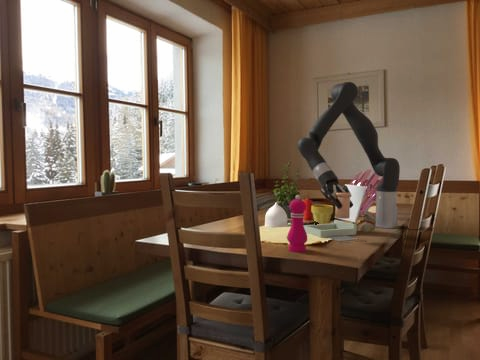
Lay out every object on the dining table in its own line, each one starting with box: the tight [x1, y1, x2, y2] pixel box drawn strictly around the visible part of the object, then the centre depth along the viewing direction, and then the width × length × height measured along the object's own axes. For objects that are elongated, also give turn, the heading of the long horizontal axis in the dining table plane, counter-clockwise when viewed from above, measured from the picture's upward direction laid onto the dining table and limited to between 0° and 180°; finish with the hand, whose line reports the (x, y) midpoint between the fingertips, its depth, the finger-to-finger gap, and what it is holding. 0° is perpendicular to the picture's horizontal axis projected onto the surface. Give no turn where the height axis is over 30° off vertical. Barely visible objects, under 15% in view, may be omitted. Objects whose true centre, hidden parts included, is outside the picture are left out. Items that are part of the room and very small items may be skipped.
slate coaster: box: [326, 235, 359, 244], centre depth 171 cm, size 9×9×1 cm
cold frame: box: [303, 183, 367, 238], centre depth 183 cm, size 23×14×21 cm, turn 114°
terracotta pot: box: [334, 192, 351, 220], centre depth 170 cm, size 6×6×10 cm
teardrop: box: [264, 201, 289, 228], centre depth 205 cm, size 11×11×12 cm
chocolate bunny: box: [357, 210, 377, 233], centre depth 190 cm, size 6×8×10 cm
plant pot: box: [310, 204, 334, 224], centre depth 206 cm, size 10×10×10 cm
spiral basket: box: [347, 168, 383, 218], centre depth 239 cm, size 28×28×27 cm
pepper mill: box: [286, 194, 308, 253], centre depth 153 cm, size 7×7×20 cm
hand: (346, 207), depth 169 cm, fingers closed on terracotta pot, 5 cm apart
